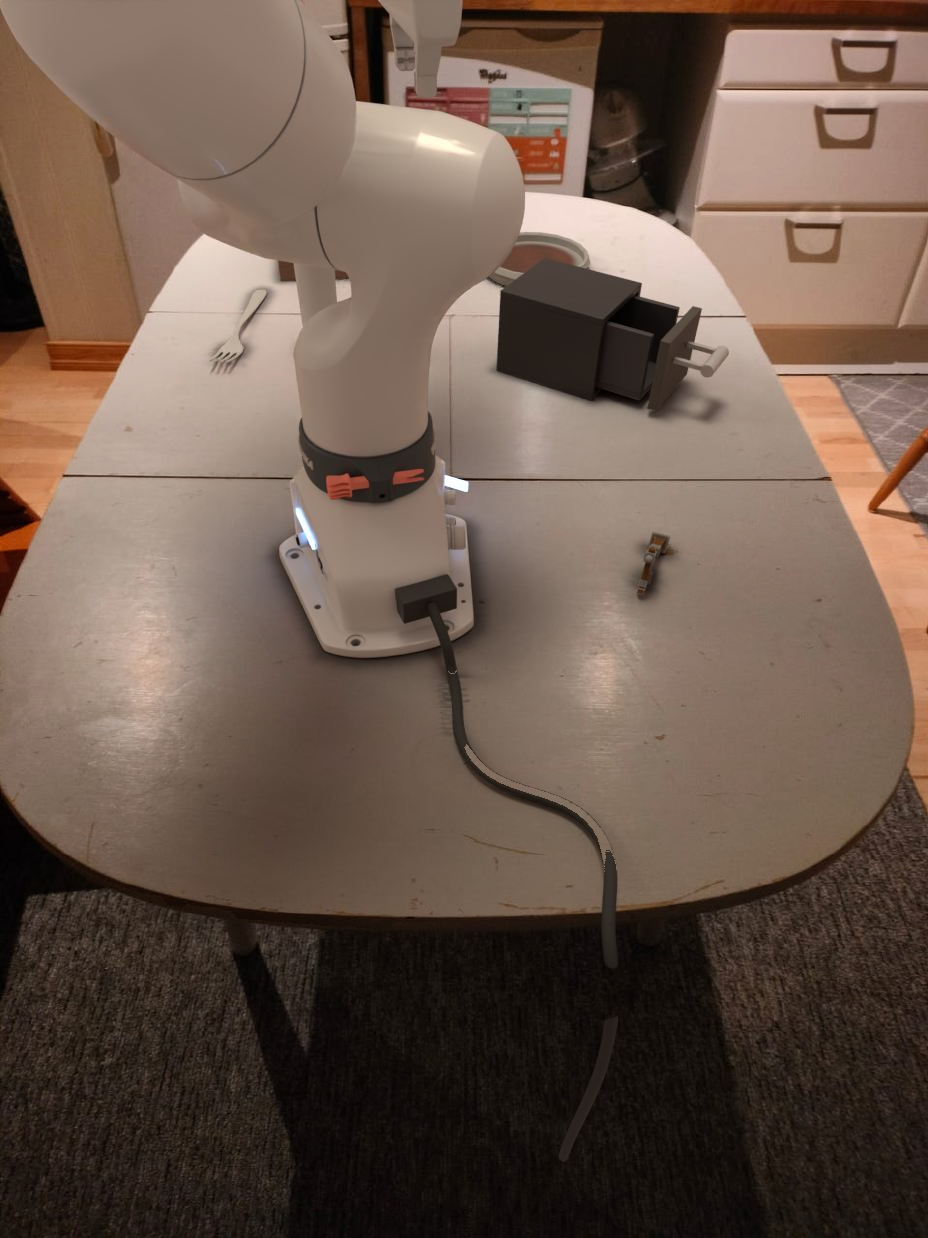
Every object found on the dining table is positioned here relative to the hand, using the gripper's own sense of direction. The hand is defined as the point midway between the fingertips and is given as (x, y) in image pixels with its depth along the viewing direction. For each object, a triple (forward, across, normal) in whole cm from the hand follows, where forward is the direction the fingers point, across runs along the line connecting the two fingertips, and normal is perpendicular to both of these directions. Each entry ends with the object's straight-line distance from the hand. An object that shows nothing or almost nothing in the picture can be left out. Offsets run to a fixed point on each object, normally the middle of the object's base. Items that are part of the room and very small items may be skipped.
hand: (414, 81), depth 79 cm
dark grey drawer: (+33, +3, +28) cm, 44 cm away
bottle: (+34, -16, -10) cm, 39 cm away
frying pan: (+34, -35, +20) cm, 53 cm away
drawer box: (+34, -5, +20) cm, 40 cm away
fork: (+34, -24, -20) cm, 46 cm away
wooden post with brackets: (+34, +35, +16) cm, 51 cm away
